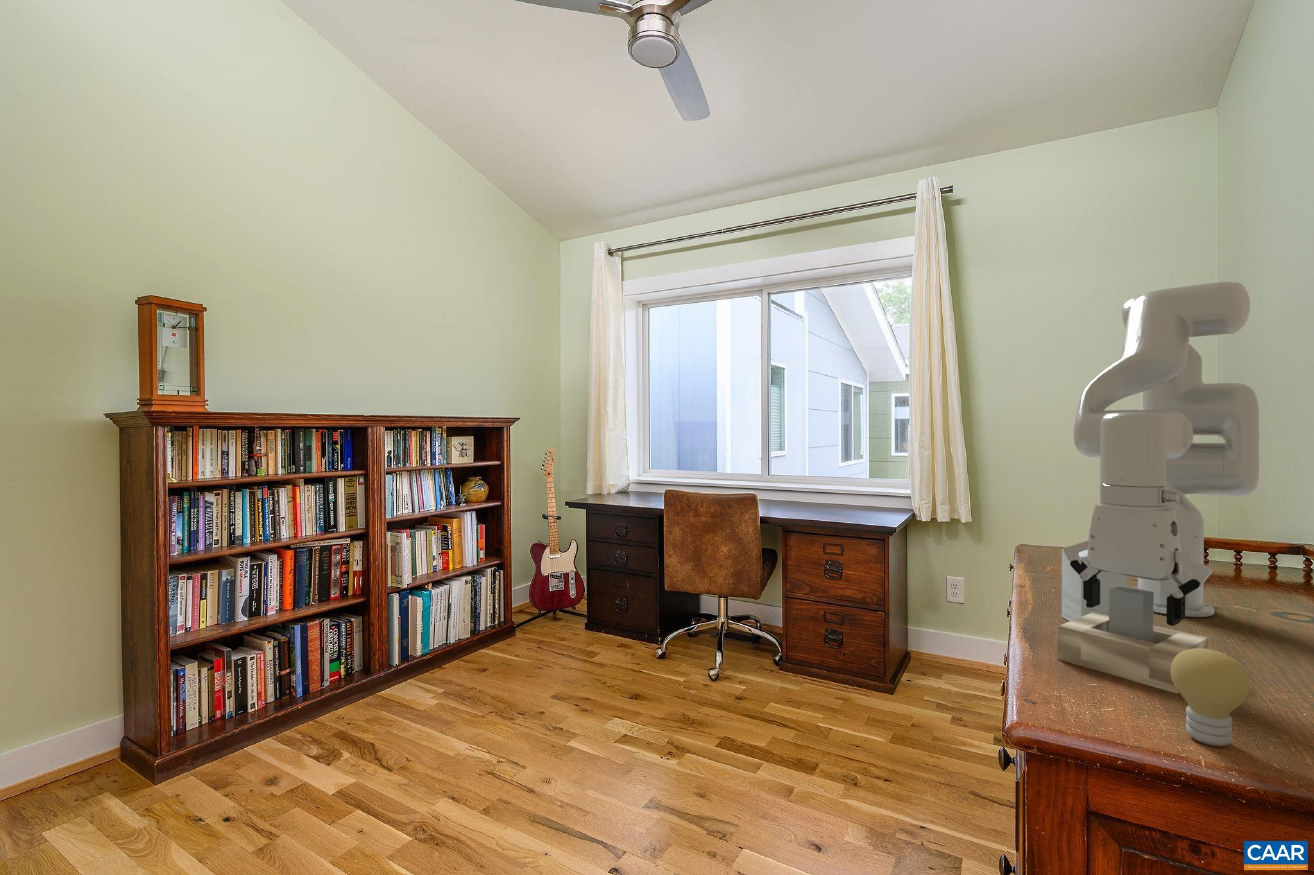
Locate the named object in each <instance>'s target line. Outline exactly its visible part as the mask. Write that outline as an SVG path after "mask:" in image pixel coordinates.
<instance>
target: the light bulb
mask: <svg viewBox="0 0 1314 875" xmlns="http://www.w3.org/2000/svg"><path fill="white" fill-rule="evenodd" d="M1171 677H1172V680H1173V683H1174V685H1175V686H1176V688H1177V690H1178V691H1179V694H1180V696H1182V698H1183V699H1184V700H1185V702H1186V703H1187V704H1188V705H1187V706H1186V708H1185V714H1186V717H1185V732H1187V734H1188V735H1189V736H1190V737H1191V738H1193V740H1195V741H1198V742H1199V743H1203V744H1205V745H1208V746H1214V747H1215V746H1216V747H1226V746H1227V745H1229V744H1231V743H1232V742H1233V741H1232V740H1233V739H1232V738H1233V737H1232V733H1233V732H1232V731H1233V730H1232V724H1233V718H1232V716H1231V715H1230V714H1231V713H1232V712H1233V711H1234V710H1236V709H1237V708H1239V707H1240V706H1241V705H1243V703H1244V702H1245V701H1246V700H1247V698H1248V696H1249V693H1250V690H1251V689H1250V688H1251V684H1250V678H1249V676H1248V673H1247V671H1246V669H1245V668H1244V667H1243V666H1242V664H1240V663H1239V661H1238V660H1236V659H1234V658H1233V657H1232V656H1229V655H1227V654H1225V653H1223V652H1221V651H1217V650H1215V649H1211V648H1210V649H1209V648H1208V649H1203V648H1195V649H1189V650H1185V651H1182V652H1180V653H1179V654H1177V655H1176V657H1175V658H1174V659H1173V661H1172V664H1171Z"/></svg>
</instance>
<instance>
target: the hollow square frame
mask: <svg viewBox="0 0 1314 875" xmlns="http://www.w3.org/2000/svg"><path fill="white" fill-rule="evenodd" d="M1195 648H1203V649H1209V637H1208V636H1203V635H1198V634H1194V633H1193V634H1192V633H1189V632H1185V631H1181V630H1175V629H1171V628H1167V627H1161V626H1157V625H1153V643H1152V642H1147V641H1143V640H1139V639H1135V638H1131V637H1126V636H1122V635H1118V634H1114V633H1110V632H1109V616H1108V615H1103V614H1098V613H1094V612H1092V613H1090V614H1087V615H1085V616H1082V617H1080V618H1077V619H1075V620H1072V621H1070V622H1069V621H1067V622H1065V623H1063V624H1060V625H1058V626H1057V660H1058V661H1060V662H1061V661H1062V662H1066V663H1069V664H1073V665H1077V666H1079V667H1084V668H1087V669H1090V670H1094V671H1097V672H1100V673H1103V674H1106V675H1110V676H1115V677H1118V678H1122V679H1124V680H1128V681H1131V682H1135V683H1139V684H1142V685H1146V686H1148V687H1153V688H1156V689H1159V690H1163V691H1166V692H1170V693H1174V694H1175V695H1177V694H1180V692H1179V691H1178V690H1177V688H1176V686H1175V685H1174V683H1173V680H1172V677H1171V664H1172V661H1173V659H1174V658H1175V657H1176V655H1177V654H1179V653H1180V652H1182V651H1185V650H1189V649H1195Z"/></svg>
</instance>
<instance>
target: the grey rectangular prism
mask: <svg viewBox="0 0 1314 875" xmlns="http://www.w3.org/2000/svg"><path fill="white" fill-rule="evenodd" d="M1154 613H1155V612H1154V591H1149V590H1144V589H1138V587H1132V586H1128V587H1127V586H1121V585H1120V586H1117V587H1114V588H1111V589H1109V632H1110V633H1114V634H1118V635H1122V636H1126V637H1131V638H1135V639H1139V640H1143V641H1147V642H1152V643H1153V626H1154Z"/></svg>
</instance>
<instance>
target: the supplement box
mask: <svg viewBox="0 0 1314 875" xmlns="http://www.w3.org/2000/svg"><path fill="white" fill-rule="evenodd" d="M1063 550H1064V548H1062V550H1061V617H1062V618H1063V619H1065V621H1067V622H1070V621H1072V620H1075V619H1077V618H1080V617H1082V616H1085V615H1087V614H1090V613H1092V612H1094V613H1098V614H1103V615H1108V616H1109V589H1111V588H1114V587H1117V586H1120V585H1121V586H1127V587H1129V584H1128V579H1129V578H1128V577H1129V576H1125V575H1119V574H1114V573H1108V572H1103V571H1102V572H1101V573H1099V574H1098V575H1097V578H1098V579H1099V580H1100V605H1098V606H1095V607H1093V608H1088V607H1086V600H1084V599H1083V580H1081V579H1080V576H1079V574H1078V573H1077V572H1076V571H1075V570H1074V569H1073V568H1072V567H1071V566H1070V561H1069V560H1068V559H1067V557H1066V555H1065V553H1064V551H1063ZM1079 558H1080V559H1081V560H1082V561H1083V562H1084V563H1085V564H1086V565H1087V566H1088V567H1089V566H1090V565H1089V563H1088V550H1085V551H1081V552H1079Z"/></svg>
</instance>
